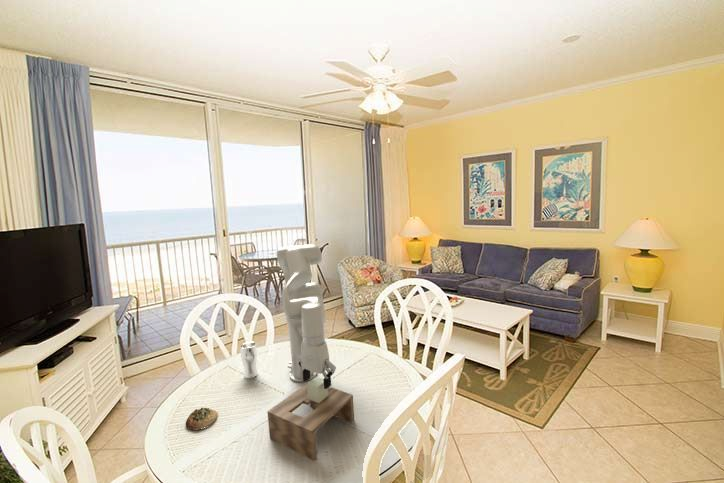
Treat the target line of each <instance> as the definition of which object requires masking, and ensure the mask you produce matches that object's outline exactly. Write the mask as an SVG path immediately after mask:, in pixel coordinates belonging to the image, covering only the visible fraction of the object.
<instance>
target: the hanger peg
mask: <svg viewBox="0 0 724 483" xmlns="http://www.w3.org/2000/svg"><path fill="white" fill-rule="evenodd" d="M323 379H324V378H321V377H318V376H315V377H314V378H313V379H311V380H309V381H307V382H306V384H307V390H308V399H309V400H312V401H315V402H317V403H320V402H321V401H322V400H323V399H325V398H326V397H327V396H328V388H327V389H324V380H323Z"/></svg>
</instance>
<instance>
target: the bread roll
mask: <svg viewBox="0 0 724 483" xmlns="http://www.w3.org/2000/svg"><path fill="white" fill-rule="evenodd" d="M218 414H219V412H218V411H216V410H215V409H212V408H209V407H201V408H199V409H195V410H193V411H192V412H191V413H190V414H189V415H188V417H187V418H186V420H185V426H186V427H187V428H188V427H189V428H191V429H192V430H194V429H201V428H204V427H207V426H209V425H210V426H211V425H212V424H214V423H215V421H216V420H217V417H218ZM210 426H209V427H210ZM189 428H188V429H189ZM207 428H208V427H207ZM191 429H190V430H191Z"/></svg>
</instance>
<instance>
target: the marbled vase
mask: <svg viewBox="0 0 724 483" xmlns="http://www.w3.org/2000/svg"><path fill="white" fill-rule="evenodd" d="M240 358H241V362H242V365H243V367H244V368H243V370H244V371H243V372H244V374H243V377H244V378H245V379H253V378H256V377H257V376H258V374H259V373H258V369H257V361H258V360H257V358H258V351H257V345H256V342H254V341H246V342H244V343H242V344H241V345H240ZM255 376H256V377H255Z"/></svg>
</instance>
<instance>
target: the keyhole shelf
mask: <svg viewBox="0 0 724 483" xmlns="http://www.w3.org/2000/svg"><path fill="white" fill-rule="evenodd" d="M303 404H304V405H306V406H309V405H310V406H309V407H311V408H314V409H313V410H312V411H311V412H310V413H309V414H307V415H306V416H305V417H302V416H300V415H297V414H295V413H293V412H294V411H295V410H297V409H298V408H299V407H300V406H302V405H303ZM354 407H355V406H354V395H353V394H352V393H348V392H345V391H343V390H339V389H337V388H334V387H331V386H330V387H328V396H327V397H326V398H325V399H323V400H322V401H321V402H320V403H317V402H315V401H312V400H309V399H308V390H307V383H305V384H304V385H303V386H301V387H300V388H299V389H297V390H296V391H294V392H293V393H291V394H290V395H288V396H287V397H285V399H283V400H282V401H280V402H278V403H277V404H276V405H274V406H273V407H271V408H270V409H269V410H268V411H267V412H266V413H267V423H268V433H269V439H271V440H272V441H275V442H276V443H278V444H279V445H280V444H281V445H282V446H284V447H286V448H288V449H290V450H292V451H294V452H296V453H298V454H300V455H301V456H304V457H305V458H308V459H310V460H312V461H313V462H314V461H315V460H317V458H318V449H317V437H316V435H317V433H316V431H318V430H319V429H320V428H321V427H322V426H323V425H324V424H325V423H327V421H328V420H330V419H331V418H332V417H336V418H339V419H342V420H344V421H346V422H348V423H353V422H354V421H355V408H354Z"/></svg>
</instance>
